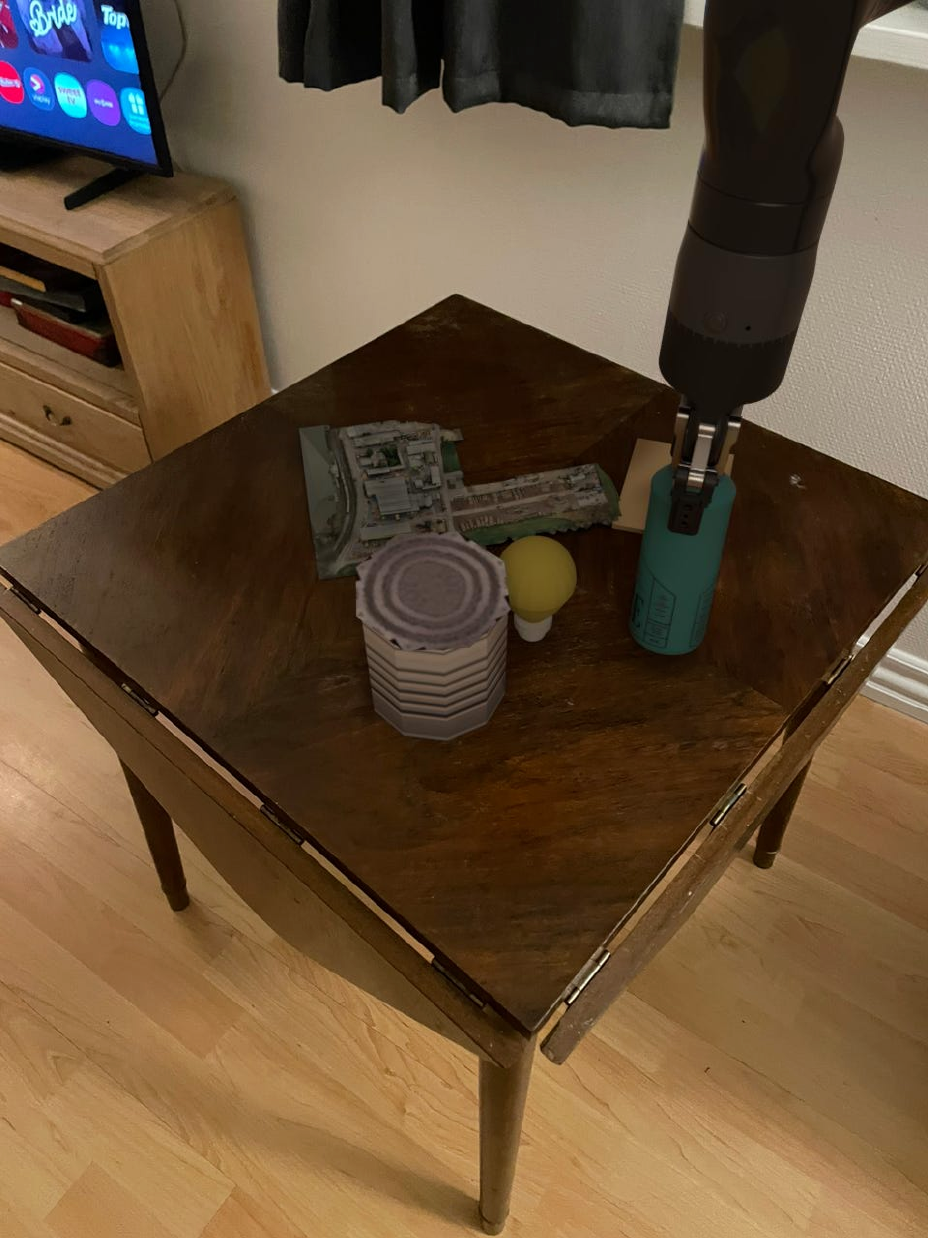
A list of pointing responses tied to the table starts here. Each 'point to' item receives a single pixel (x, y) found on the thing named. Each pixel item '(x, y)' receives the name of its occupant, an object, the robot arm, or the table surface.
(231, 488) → the table surface
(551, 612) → the light bulb
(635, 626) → the beverage bottle
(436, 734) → the can
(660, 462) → the mat
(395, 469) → the model
